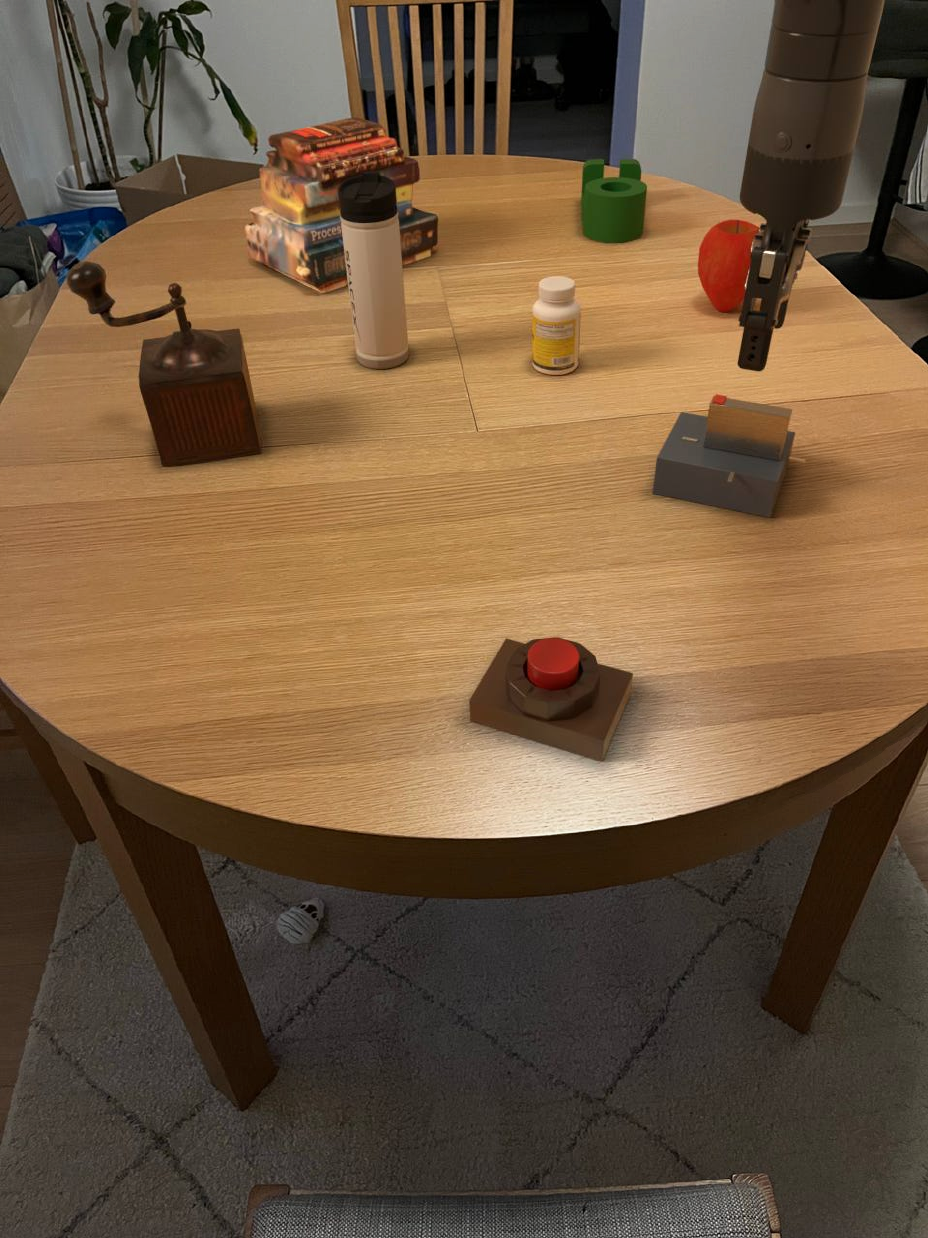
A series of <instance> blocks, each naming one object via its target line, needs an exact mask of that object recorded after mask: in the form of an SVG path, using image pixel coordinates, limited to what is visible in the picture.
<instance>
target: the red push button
mask: <svg viewBox="0 0 928 1238" xmlns="http://www.w3.org/2000/svg"><path fill="white" fill-rule="evenodd" d="M546 638H547V639H543V640H540V641H538V642H536V643H535V644H533V645H532V646H531V648H530V649H529V651H528V662H527V674H528V677H529V679H530V680H531V682H532V683H533V684H534V685H536V686H537V687H539V688H543V689H546V690H550V691H553V690H562V689H566V688H568V687H570V686H571V685H572V684H574V682H575V681H576V680H577V677H578V671H579V653H578V650H577V649H576V647H575V646H574V645H573V644H571V643H570V642H568V641H566V640H567V639H566V640H563V639H564V638H562V639H558V638H552V637H546Z"/></svg>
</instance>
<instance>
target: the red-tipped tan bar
mask: <svg viewBox="0 0 928 1238" xmlns="http://www.w3.org/2000/svg"><path fill="white" fill-rule="evenodd" d="M707 412H708V414H707V417H708V418H707V424H706V430H705V437H704V443H703V447H708V448H713V449H719V450H724V451H729V452H735V453H740V454H745V455H750V456H756V457H761V458H766V459H772V460H777V461H780V458H781V455H782V453H783V448H784V444H785V440H786V435H787V431H789V426H790V422H791V418H792V417H791V416H792V412H793V409H792V408H789V407H783V406H777V405H771V404H764V403H759V402H752V401H746V400H740V399H735V398H729V397H728V396H727V395H722V394H717V393H716V394H715V395H713V396H712V398H711V400H710V403H709V406H708V411H707Z"/></svg>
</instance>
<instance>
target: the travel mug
mask: <svg viewBox="0 0 928 1238" xmlns="http://www.w3.org/2000/svg"><path fill="white" fill-rule="evenodd" d="M338 197H339V205H340V219H341V227H342V236H343V244H344V253H345V262H346V270H347V279H348V285H347V286H348V287H347V288H348V294H349V295H348V296H349V303H350V312H351V320H352V329H353V337H354V338H353V339H354V346H355V355H356V360H357V362H358V363H359V364H360V365H361V366H364V367H366V368H369V369H373V370H385V369H386V370H387V369H392V368H395V367H399V366H401V365H402V364H404V363H405V362H406V361H407V360H408V359H409V357H410V352H409V351H410V350H409V349H410V348H409V335H408V324H407V309H406V299H405V298H406V297H405V286H404V285H405V284H404V271H403V266H402V256H401V243H400V230H399V219H398V210H397V205H396V203H397V198H396V185H395V182H394V181H393V180H392V179H390V178H388V177H386V176H382V175H380V174H379V172H363V175H361V176H356V177H352V178H350V179H347V180H345V181H344V182H342V183H341V184H340V186H339V187H338Z"/></svg>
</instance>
